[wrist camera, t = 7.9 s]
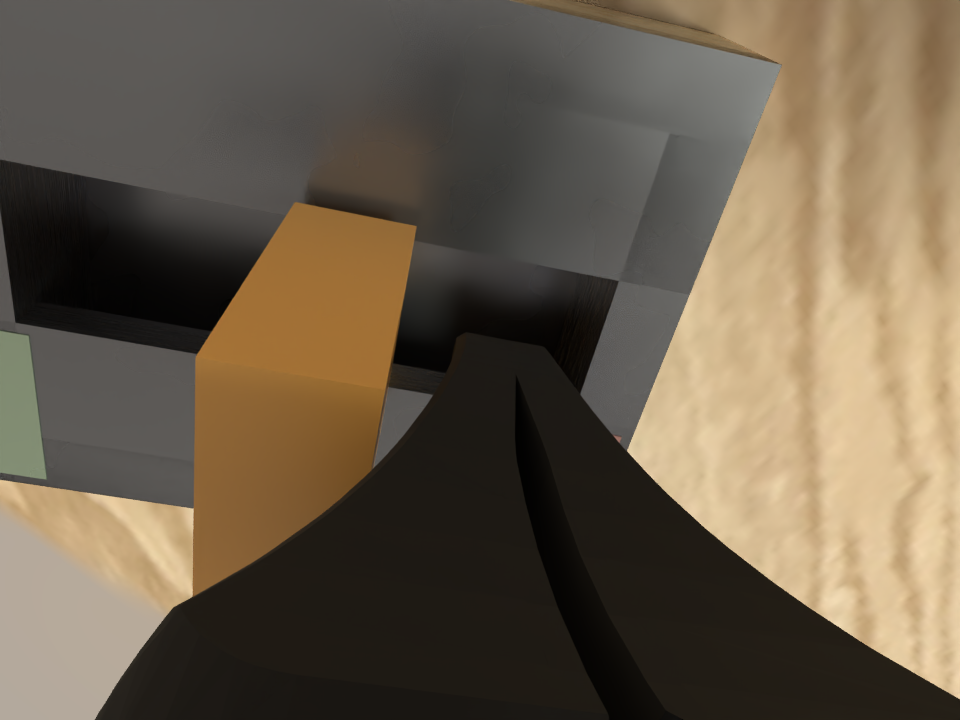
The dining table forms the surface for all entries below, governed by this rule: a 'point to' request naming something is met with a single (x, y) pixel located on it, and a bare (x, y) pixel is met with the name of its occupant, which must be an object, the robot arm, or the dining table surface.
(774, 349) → the dining table surface
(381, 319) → the lever
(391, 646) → the robot arm
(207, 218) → the switch box
